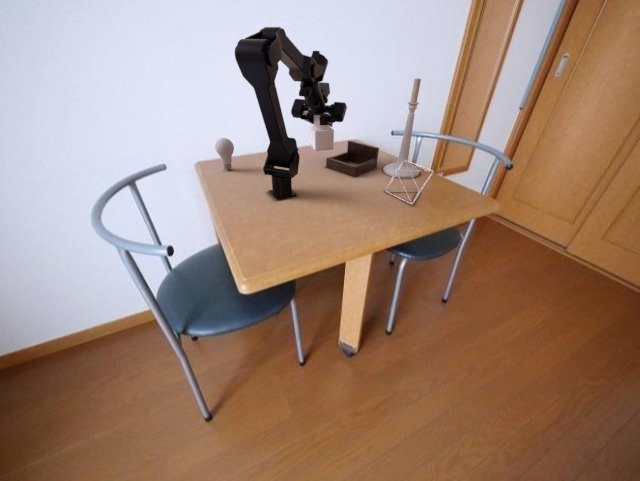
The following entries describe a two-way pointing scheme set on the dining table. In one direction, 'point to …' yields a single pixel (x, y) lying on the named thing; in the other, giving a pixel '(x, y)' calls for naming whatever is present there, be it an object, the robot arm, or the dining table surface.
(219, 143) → the lightbulb
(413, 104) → the candlestick
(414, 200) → the geometric polyhedron
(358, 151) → the wooden holder
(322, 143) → the medicine bottle
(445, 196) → the dining table surface
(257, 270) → the dining table surface
